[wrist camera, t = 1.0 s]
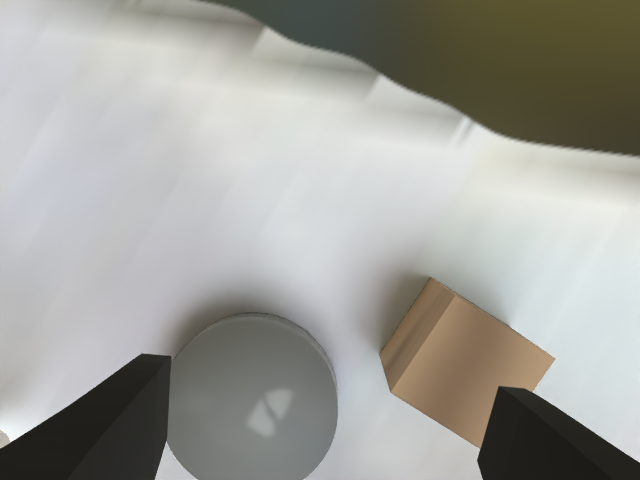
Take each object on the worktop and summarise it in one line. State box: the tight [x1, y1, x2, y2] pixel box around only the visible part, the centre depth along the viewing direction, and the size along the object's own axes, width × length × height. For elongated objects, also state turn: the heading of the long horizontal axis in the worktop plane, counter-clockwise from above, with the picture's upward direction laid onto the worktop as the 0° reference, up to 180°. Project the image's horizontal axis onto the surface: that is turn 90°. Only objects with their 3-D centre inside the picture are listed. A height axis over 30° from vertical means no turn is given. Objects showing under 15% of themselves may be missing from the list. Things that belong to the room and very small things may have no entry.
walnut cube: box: [379, 277, 555, 449], centre depth 22 cm, size 5×5×5 cm
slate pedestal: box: [166, 313, 338, 480], centre depth 24 cm, size 9×9×2 cm
